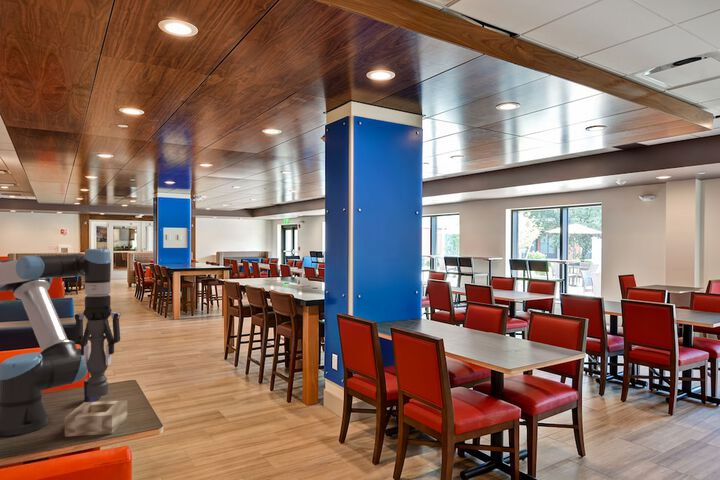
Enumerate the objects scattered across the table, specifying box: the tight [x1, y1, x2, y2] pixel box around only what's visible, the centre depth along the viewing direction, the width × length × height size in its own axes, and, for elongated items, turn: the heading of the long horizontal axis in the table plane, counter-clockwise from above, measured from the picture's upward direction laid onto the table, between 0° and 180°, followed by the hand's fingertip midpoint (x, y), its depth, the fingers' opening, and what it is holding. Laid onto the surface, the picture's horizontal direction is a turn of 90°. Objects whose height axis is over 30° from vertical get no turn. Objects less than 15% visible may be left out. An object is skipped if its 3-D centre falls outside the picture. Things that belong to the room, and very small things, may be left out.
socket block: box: [64, 399, 128, 437], centre depth 155 cm, size 14×14×6 cm
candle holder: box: [87, 319, 109, 397], centre depth 155 cm, size 6×6×25 cm
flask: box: [83, 378, 102, 403], centre depth 180 cm, size 9×3×11 cm, turn 1°
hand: (97, 364), depth 155 cm, fingers closed on candle holder, 6 cm apart
